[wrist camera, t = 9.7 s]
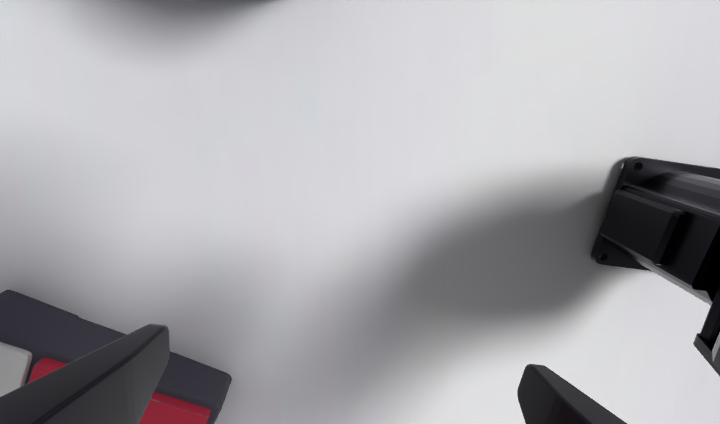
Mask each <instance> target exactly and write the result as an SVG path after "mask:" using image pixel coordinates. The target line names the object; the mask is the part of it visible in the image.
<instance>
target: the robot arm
mask: <svg viewBox="0 0 720 424" xmlns="http://www.w3.org/2000/svg"><path fill="white" fill-rule="evenodd" d="M636 163H637V167H636V168H635V169H634V165H635V164H636ZM602 253H603V256H602V257H600V258H599V256H600V255H601V254H602ZM591 258H592V259H593V260H594V261H595V262H597V263H598V264H603V265H611V266H618V267H626V268H634V269H642V270H650V271H653V272H655V273H656V274H658V275H660V276H662V277H663V278H665V279H667V280H668V281H670V282H672V283H673V284H675V285H677V286H679V287H680V288H682V289H684V290H685V291H687V292H689V293H691V294H692V295H694V296H696V297H697V298H699V299H701V300H703V301H704V302H706V303H708V304H709V305H711V307H710V309H709V312H708V315H707V317H706V320H705V322H704V325H703V328H702V330H701V333H699V334H697V335H696V338H695V341H694V343H693V344H694V346H695V347H696V348H697V349H698V350H699V352H700V353H701V354H702V355H703V356H704V358H705V359H706V360H707V361H708V362H709V364H710V365H711V366H712V367H713V368H714V370H715V371H716V372H717V373H718V374H719V376H720V169H719V168H712V167H705V166H698V165H691V164H684V163H678V162H671V161H664V160H657V159H650V158H643V157H631V158H629V159H628V160H627V161H626V162H625V164H624V167H623V169H622V172H621V175H620V177H619V180H618V183H617V185H616V188H615V191H614V194H613V196H612V199H611V202H610V204H609V207H608V210H607V212H606V215H605V218H604V220H603V223H602V226H601V229H600V231H599V234H598V237H597V239H596V242H595V245H594V247H593V250H592V253H591ZM169 353H170V351H169V329H168V327H167V326H165V325H157V324H149V325H146V326H144V327H142V328H140V329H138V330H136V331H134V332H132V333H130V334H128V335H126V336H124V337H122V338H120V339H118V340H116V341H114V342H111V343H109V344H107V345H105V346H103V347H101V348H99V349H97V350H95V351H93V352H91V353H89V354H87V355H85V356H83V357H81V358H79V359H77V360H75V361H73V362H71V363H69V364H67V365H64V366H62V367H60V368H58V369H56V370H54V371H52V372H50V373H48V374H46V375H44V376H42V377H40V378H38V379H36V380H34V381H32V382H30V383H28V384H26V385H24V386H21V387H19V388H17V389H15V390H13V391H11V392H9V393H7V394H5V395H3V396H1V397H0V424H138V423H139V421H140V419H141V417H142V415H143V413H144V411H145V409H146V407H147V405H148V402H149V400H150V398H151V396H152V394H153V392H154V390H155V388H156V386H157V384H158V382H159V380H160V378H161V376H162V373H163V371H164V369H165V367H166V365H167V363H168V360H169ZM518 400H519V403H520V407H521V410H522V413H523V416H524V419H525V423H526V424H627V423H625V422H624V421H622V420H621V419H620V418H618V417H617V416H615V415H614V414H613V413H611V412H610V411H608V410H607V409H605V408H604V407H603V406H601V405H600V404H598V403H597V402H595V401H594V400H593V399H591V398H590V397H588V396H587V395H586V394H584V393H583V392H581V391H580V390H578V389H577V388H576V387H574V386H573V385H571V384H570V383H568V382H567V381H566V380H564V379H563V378H561V377H560V376H559V375H557V374H556V373H554V372H553V371H551V370H550V369H549V368H547V367H546V366H543V365H535V364H529V365H527V366H526V367H525V370H524V373H523V375H522V378H521V381H520V384H519V387H518Z"/></svg>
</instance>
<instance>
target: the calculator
mask: <svg viewBox="0 0 720 424" xmlns="http://www.w3.org/2000/svg"><path fill="white" fill-rule="evenodd" d="M124 336H126V334H123V333H120V332H118V331H115V330H112V329H109V328H106V327H103V326H100V325H97V324H94V323H91V322H89V321H86V320H83V319H80V318H79V317H78V316H77V315H74V314H72V313H69V312H67V311H64V310H61V309H59V308H56V307H54V306H51V305H48V304H46V303H43V302H41V301H38V300H35V299H33V298H30V297H28V296H25V295H22V294H20V293H17V292H15V291H11V290H6V291H4V292H3V293H1V294H0V397H1V396H3V395H5V394H7V393H9V392H11V391H13V390H15V389H17V388H19V387H21V386H24V385H26V384H28V383H30V382H32V381H34V380H36V379H38V378H40V377H42V376H44V375H46V374H48V373H50V372H52V371H54V370H56V369H58V368H60V367H62V366H64V365H67V364H69V363H71V362H73V361H75V360H77V359H79V358H81V357H83V356H85V355H87V354H89V353H91V352H93V351H95V350H97V349H99V348H101V347H103V346H105V345H107V344H109V343H111V342H114V341H116V340H118V339H120V338H122V337H124ZM231 380H232V378H231V376H230V375H229V374H227V373H225V372H223V371H220V370H217V369H215V368H212V367H210V366H207V365H204V364H202V363H199V362H196V361H194V360H191V359H189V358H186V357H183V356H181V355H178V354H176V353H173V352H170V353H169V360H168V363H167V365H166V367H165V369H164V371H163V373H162V376H161V378H160V380H159V382H158V384H157V386H156V388H155V390H154V392H153V394H152V396H151V398H150V400H149V402H148V405H147V407H146V409H145V411H144V413H143V415H142V417H141V419H140V421H139V423H138V424H214V422H215V420H216V418H217V416H218V414H219V412H220V410H221V408H222V405H223V402H224V400H225V397H226V394H227V391H228V389H229V386H230V383H231Z"/></svg>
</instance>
